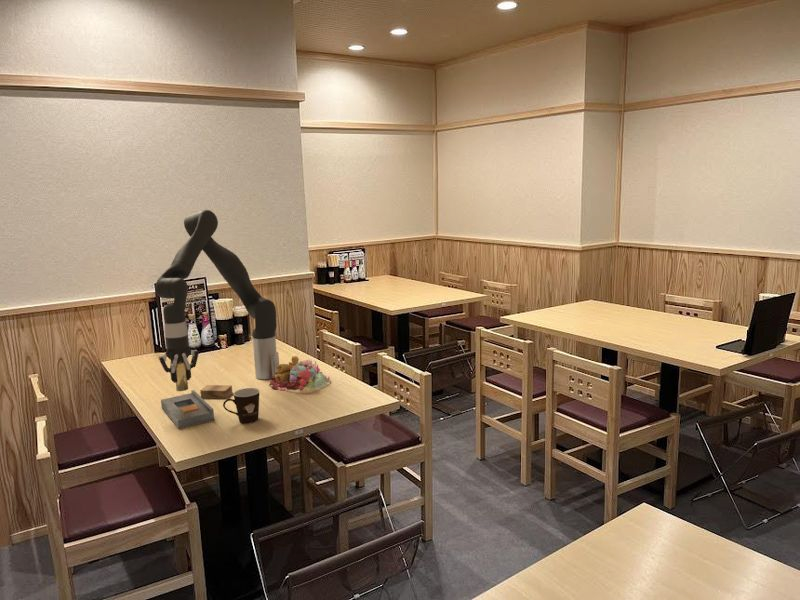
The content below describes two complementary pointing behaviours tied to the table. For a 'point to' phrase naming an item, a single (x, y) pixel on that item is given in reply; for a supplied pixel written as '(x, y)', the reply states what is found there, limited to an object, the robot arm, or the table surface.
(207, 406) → the rack plate
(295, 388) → the candy landscape model
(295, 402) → the table surface
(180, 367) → the brass peg
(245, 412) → the coffee mug
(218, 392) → the brown wooden block
